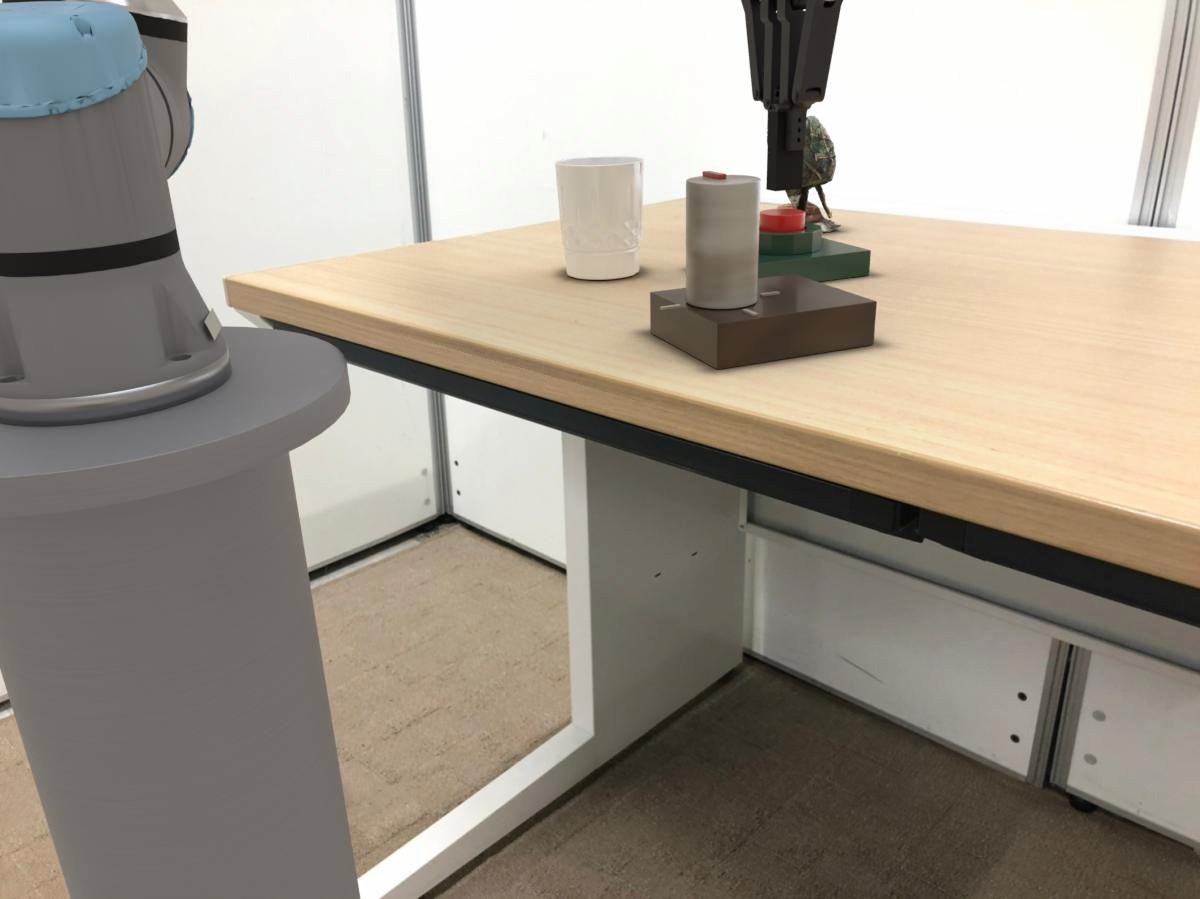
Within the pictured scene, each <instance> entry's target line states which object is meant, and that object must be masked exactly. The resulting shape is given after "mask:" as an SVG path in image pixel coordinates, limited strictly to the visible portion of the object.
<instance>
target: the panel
mask: <svg viewBox="0 0 1200 899" xmlns="http://www.w3.org/2000/svg"><path fill="white" fill-rule="evenodd" d="M649 303H650V304H649V309H650V310H649V312H650V313H649V314H650V316H649V319H650V322H649V323H650V324H649V325H650V334H652V335H654V336H655V337H657V338H659V339H661V340H663V341H664V342H667V343H668V344H670V345H672V346H674V347H676V348H677V349H680V351H683V352H685V353H687V354H689V355H691V356H692V357H694V358H696V359H698V360H699V361H702V362H703V363H705V364H706V365H708V366H710V367H712V368H714V369H716V370H721V369H722V370H723V369H729V368H734V367H741V366H747V365H752V364H760V363H766V362H773V361H778V360H785V359H792V358H797V357H798V358H799V357H804V356H809V355H816V354H824V353H828V352H835V351H836V352H837V351H842V350H847V349H855V348H860V347H866V346H872V345H874V343H875V333H876V332H875V329H876V316H877V305H878V302H877V300H875V299H871V298H869V297H864V296H863V295H859V294H856V293H854V292H853V293H852V292H849V291H846V290H844V289H841V288H837V287H836V286H835V287H834V286H831V285H828V284H826V283H823V282H821V281H820V282H817V281H814V280H811V279H808V278H804V277H801V276H798V275H795V274H791V275H783V276H775V277H767V278H759V279H758V289H757V302H756V303H755V304H753V305H750V306H747V307H742V308H734V309H708V308H700V307H696V306H692V305H690V304H688V303H687V302H686V287H680V288H672V289H663V290H657V291H650V292H649Z"/></svg>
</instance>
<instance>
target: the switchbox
mask: <svg viewBox="0 0 1200 899" xmlns="http://www.w3.org/2000/svg"><path fill="white" fill-rule="evenodd" d="M871 252H872V250H870V249H868V248H864V247H860V246H856V245H852V244H849V243H844V242H841V241H837V240H833V239H829V238H825V237H823V233H822V228H821V226H820V225H816V224H812V223H806V222H805V230H802V231H794V232H769V231H761V230H759V255H758V279H759V278H767V277H775V276H783V275H791V274H795V275H798V276H801V277H804V278H808V279H811V280H814V281H817V282H820V283H821V282H827V281H835V280H843V279H850V278H856V277H857V278H858V277H866V276H870V268H871V256H872V254H871Z"/></svg>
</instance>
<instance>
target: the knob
mask: <svg viewBox="0 0 1200 899" xmlns="http://www.w3.org/2000/svg"><path fill="white" fill-rule="evenodd" d="M701 174H702V175H699V176H693V177H689V178H687V179H686V180H685V288H686V302H687V303H688V304H690V305H692V306H696V307H700V308H708V309H734V308H742V307H747V306H750V305H753V304H755V303H756V302H757V289H758V255H759V222H760V211H761V188H762V186H761V184H762V180H761V178H760V177H759V176H754V175H746V174H745V175H744V174H727V173H723V172H718V171H712V170H703V171H702V173H701Z"/></svg>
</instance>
